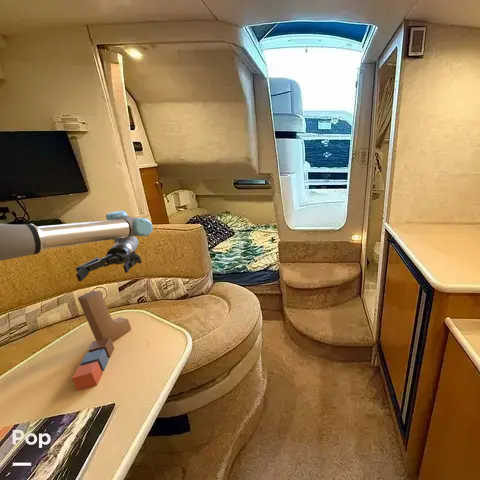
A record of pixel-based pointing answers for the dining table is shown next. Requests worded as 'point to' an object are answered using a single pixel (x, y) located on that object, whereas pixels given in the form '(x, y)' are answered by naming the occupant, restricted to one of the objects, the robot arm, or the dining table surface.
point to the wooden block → (102, 317)
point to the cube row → (93, 364)
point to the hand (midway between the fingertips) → (102, 273)
